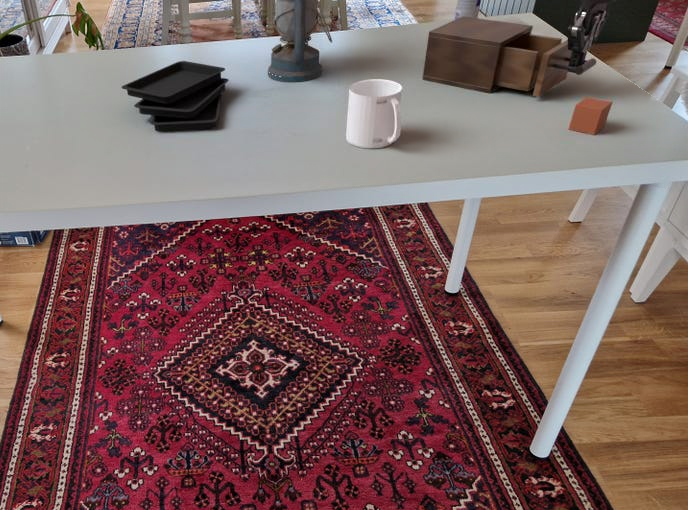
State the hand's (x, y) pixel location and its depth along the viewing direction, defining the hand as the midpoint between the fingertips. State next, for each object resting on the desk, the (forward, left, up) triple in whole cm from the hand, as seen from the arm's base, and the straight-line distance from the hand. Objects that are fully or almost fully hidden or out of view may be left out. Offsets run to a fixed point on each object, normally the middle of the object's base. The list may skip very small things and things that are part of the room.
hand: (574, 71), depth 125 cm
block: (-9, +14, -5) cm, 18 cm away
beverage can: (+39, -29, -5) cm, 49 cm away
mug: (+18, +41, -5) cm, 45 cm away
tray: (+62, +50, -5) cm, 79 cm away
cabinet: (+21, 0, -5) cm, 21 cm away
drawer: (+8, 0, -4) cm, 8 cm away
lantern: (+55, +18, -5) cm, 58 cm away
